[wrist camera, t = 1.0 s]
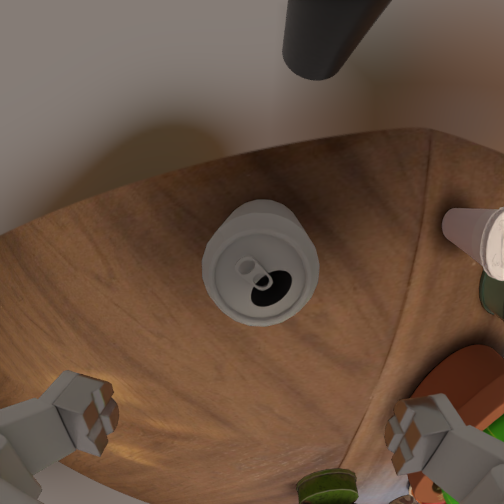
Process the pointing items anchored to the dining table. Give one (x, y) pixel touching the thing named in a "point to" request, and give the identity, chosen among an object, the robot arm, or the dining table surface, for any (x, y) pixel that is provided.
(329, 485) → the lantern
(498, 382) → the potted cactus
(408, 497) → the figurine
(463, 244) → the smoothie
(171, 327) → the dining table surface
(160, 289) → the dining table surface
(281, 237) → the can
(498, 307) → the cup stack
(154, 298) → the dining table surface
